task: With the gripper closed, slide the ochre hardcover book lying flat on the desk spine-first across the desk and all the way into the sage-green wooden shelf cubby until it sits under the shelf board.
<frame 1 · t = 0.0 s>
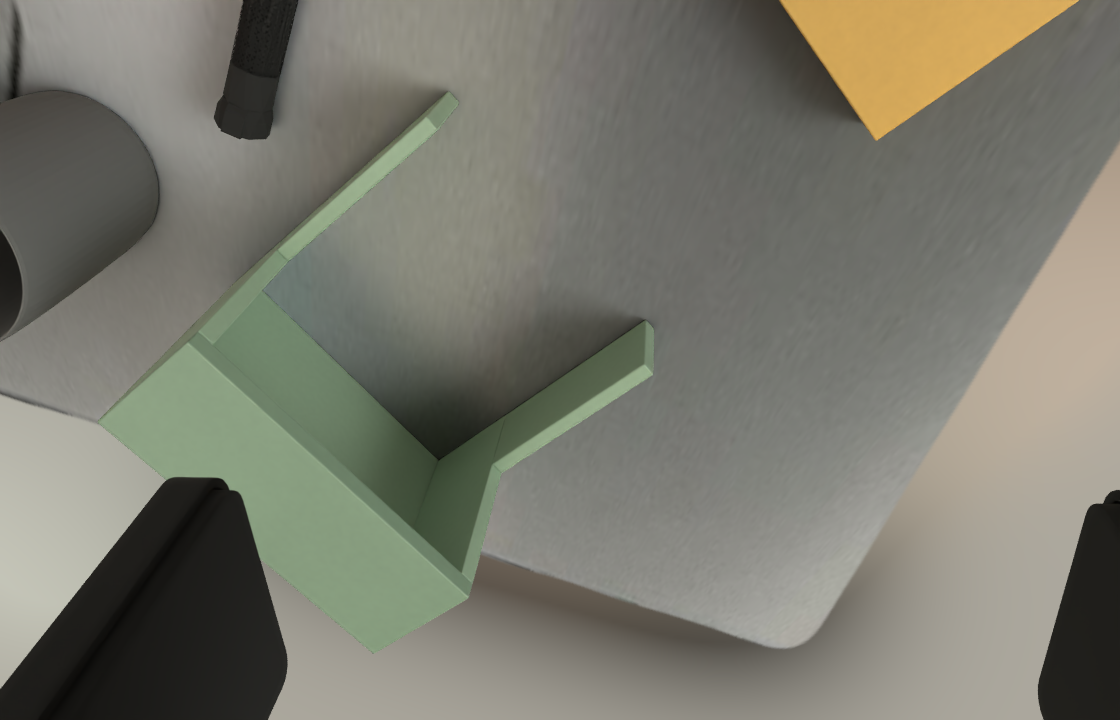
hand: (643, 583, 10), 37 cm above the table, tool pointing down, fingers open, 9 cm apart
mug: (51, 136, 48), on the table
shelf: (443, 305, 50), on the table
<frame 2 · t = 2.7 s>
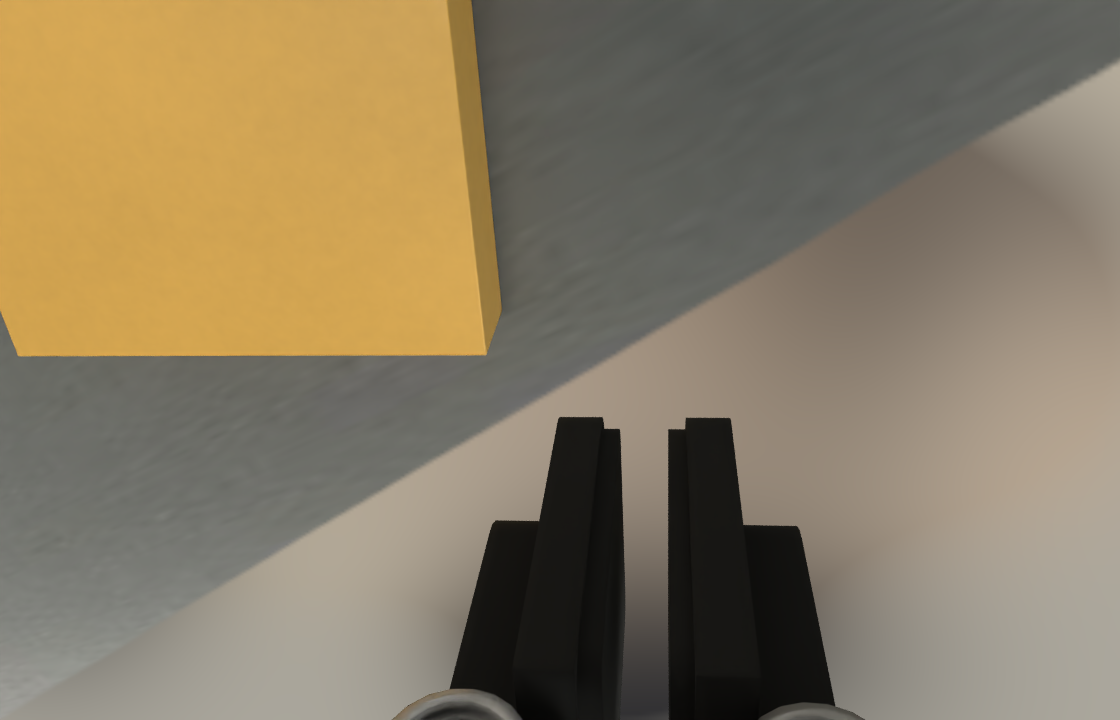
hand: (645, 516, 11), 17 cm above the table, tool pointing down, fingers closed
book: (243, 150, 28), on the table
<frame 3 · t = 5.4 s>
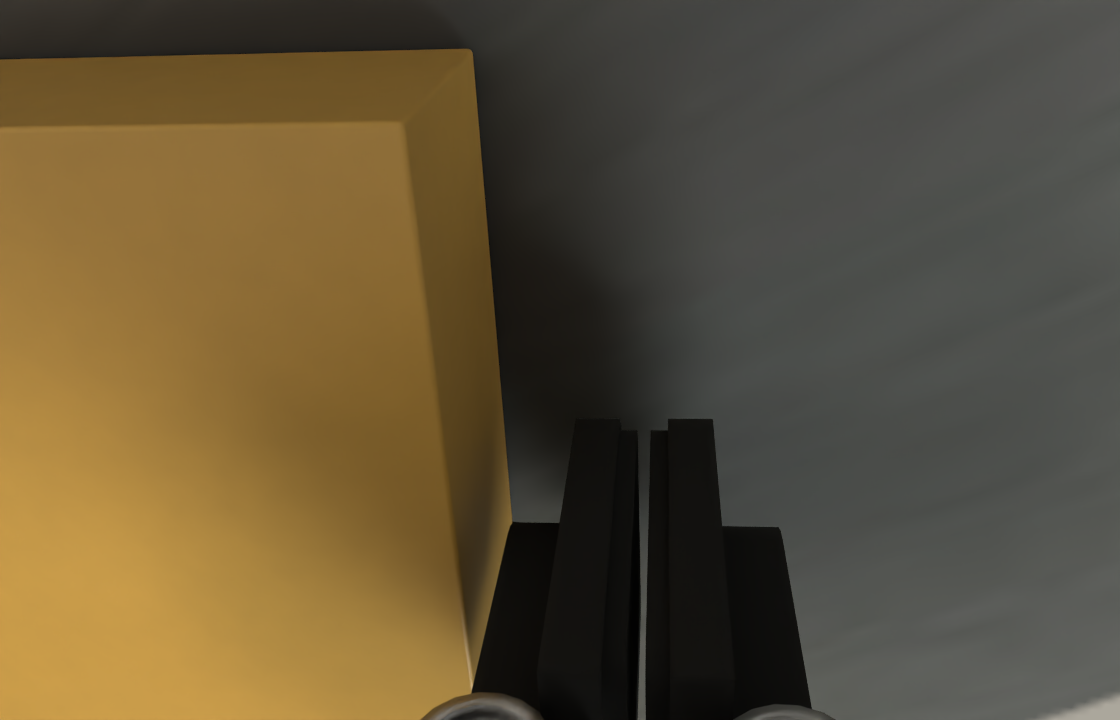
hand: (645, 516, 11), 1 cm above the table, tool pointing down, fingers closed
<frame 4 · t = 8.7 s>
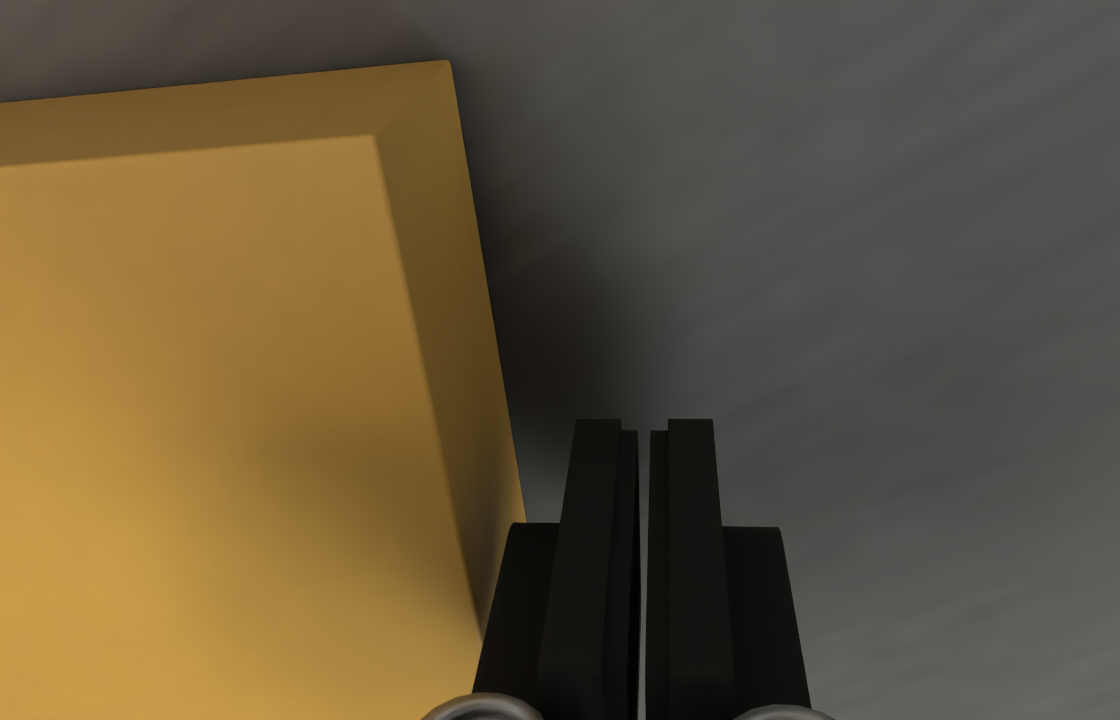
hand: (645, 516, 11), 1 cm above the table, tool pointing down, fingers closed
book: (30, 479, 14), on the table, touching gripper
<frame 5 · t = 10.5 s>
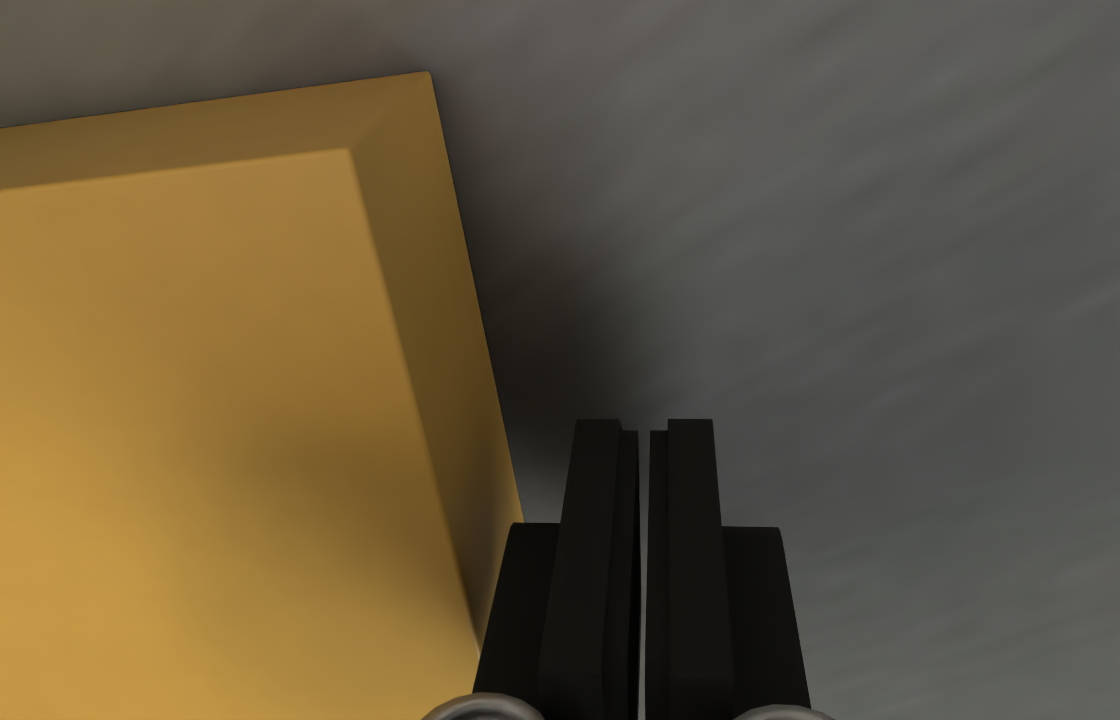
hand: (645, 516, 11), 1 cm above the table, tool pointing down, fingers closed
book: (32, 503, 14), on the table, touching gripper
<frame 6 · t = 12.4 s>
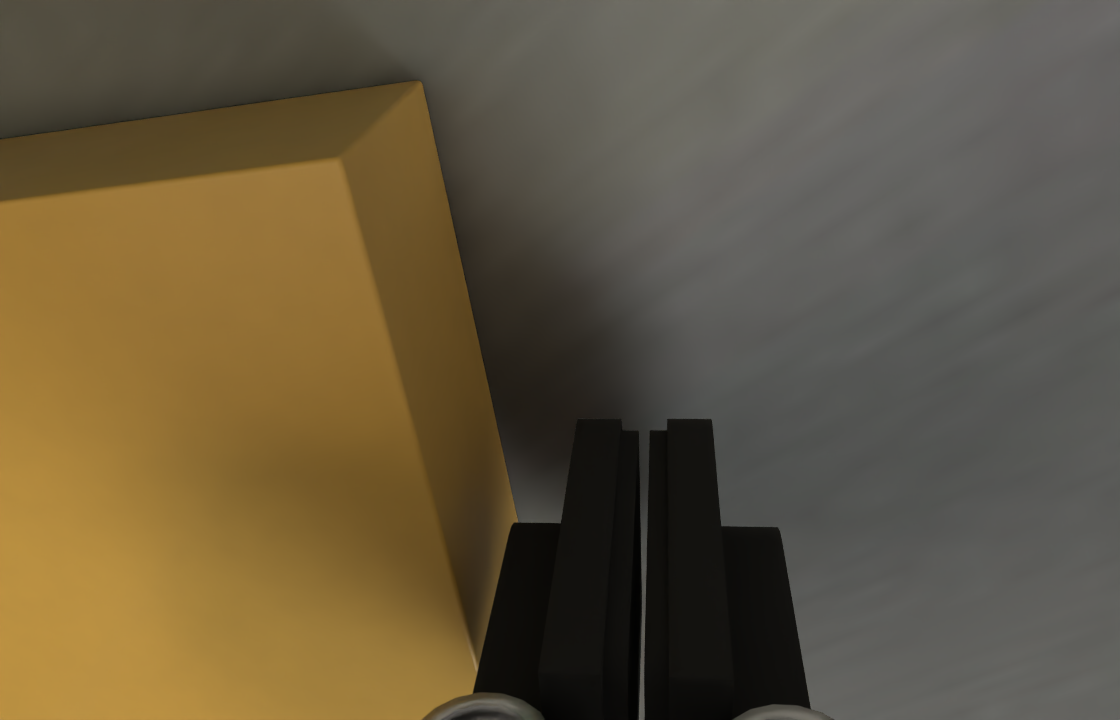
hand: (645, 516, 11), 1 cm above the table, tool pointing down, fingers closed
book: (23, 518, 14), on the table, touching gripper, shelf
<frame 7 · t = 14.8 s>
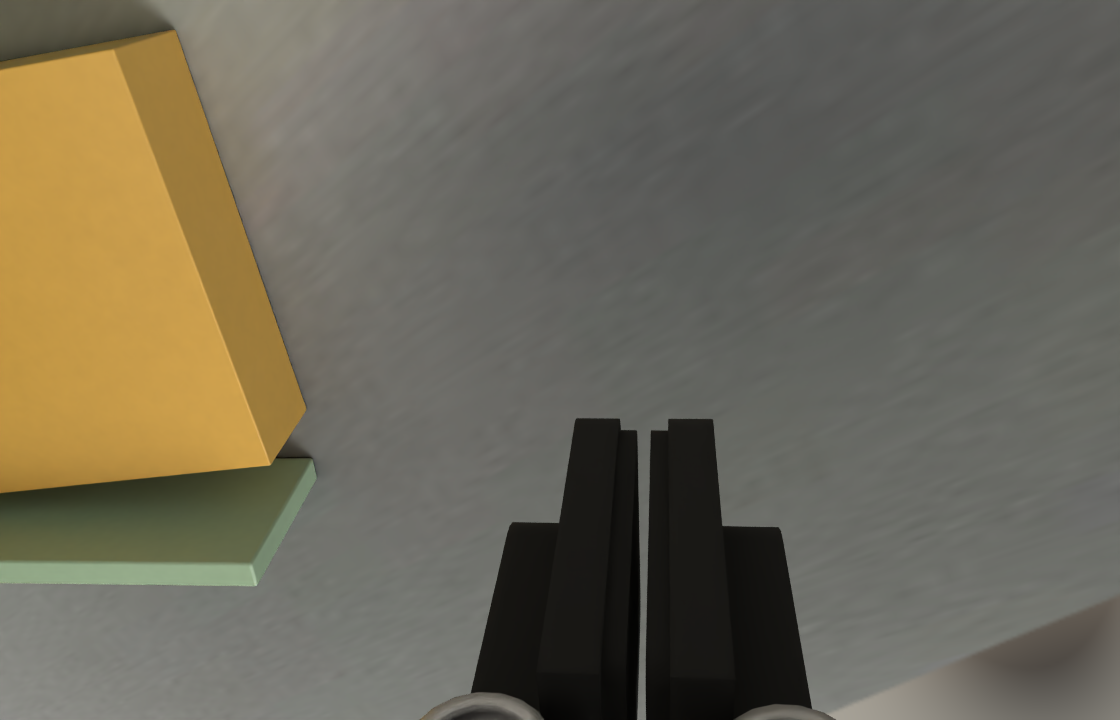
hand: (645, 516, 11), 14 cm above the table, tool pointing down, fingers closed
book: (5, 273, 26), on the table
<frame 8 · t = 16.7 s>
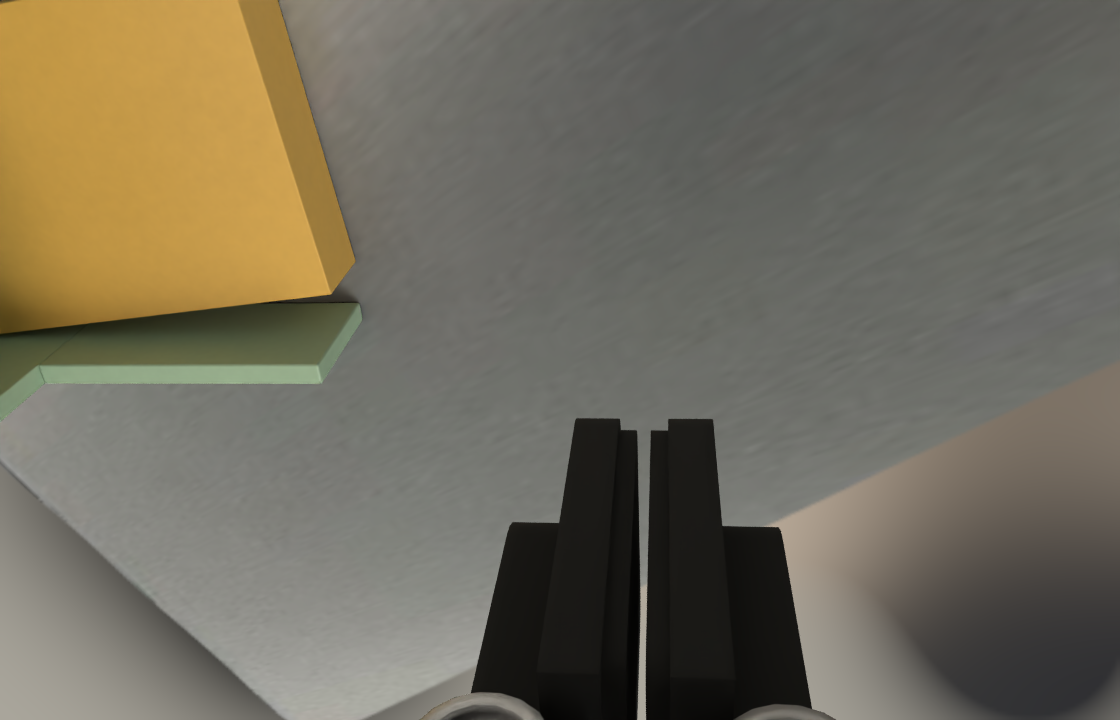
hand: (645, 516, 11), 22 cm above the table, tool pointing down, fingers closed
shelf: (101, 116, 33), on the table
book: (122, 148, 33), on the table
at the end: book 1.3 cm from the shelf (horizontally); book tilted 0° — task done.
